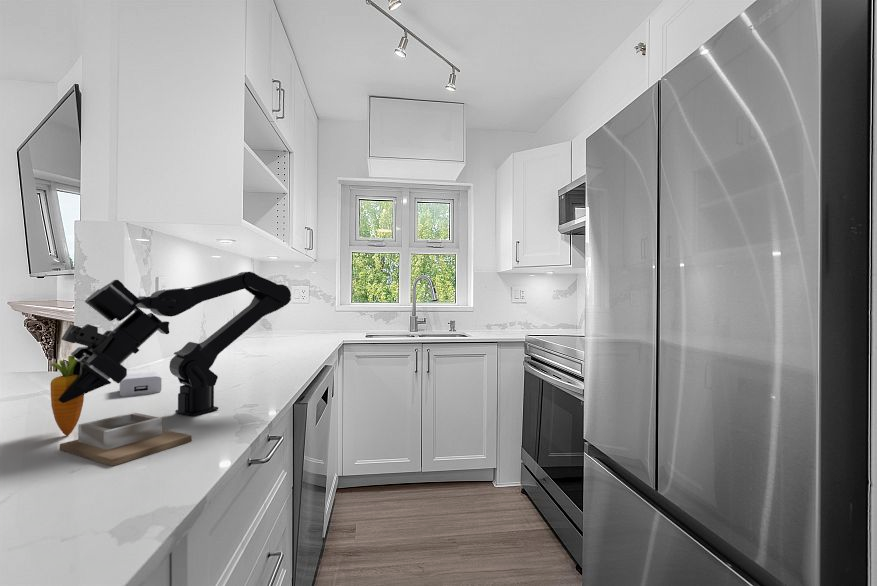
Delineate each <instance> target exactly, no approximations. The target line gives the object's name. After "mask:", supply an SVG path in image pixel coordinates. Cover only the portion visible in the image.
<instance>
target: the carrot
mask: <svg viewBox="0 0 877 586" xmlns="http://www.w3.org/2000/svg"><path fill="white" fill-rule="evenodd" d="M67 358H68V360H67V361H68V366H66V363H65V361H64V360H58V362H59V363H57V362H52V363H51V364H50V366H52V367H55V369H57V370H58V371H59V372H60V373H61V375H59V376H56V377H54V378H53V379H51V382H50V402H51V404H50V405H51V410H52V414H53V417H54V420H55V423H56V424H57V426H58V428H59V430H60V431H61V432H62V434H63V435H65V436H67V437H68V436H69V435H71V434H72V433H73V431H74V429H75V428H76V426H77V424H78V422H79V420H80V416H81V413H82V409H83V406H84V400H85V394H83V395H81V396H79V397H76V398H74V399H72V400H70V401H67V402H65V403H62V402H60V401H59V400H58V399H59V398H60V396H61V395H62V394H63V393H64V391H65V390H66V389H67V388H68V387H69V386H70V384H71V383H72V382H73V381H74V380H75V379H76V378H77V376H78V375H73V371H74V367H75V365H76V363H77V359H76V358H75V357H74V356H72V355H69V356H68V357H67Z"/></svg>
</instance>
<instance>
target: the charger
mask: <svg viewBox="0 0 877 586" xmlns="http://www.w3.org/2000/svg"><path fill="white" fill-rule="evenodd" d="M161 391H162V377H161V375H160V373H159V372H158V371H157V372H156V371H147V372H136V373H135V372H134V373H127V376H126V377H125V378H124V379H123V380H122V381H121V382H120V383H119V397H129V396H139V395H140V396H141V395H147V394H148V395H149V394H155V393H157V394H158V393H160V392H161Z"/></svg>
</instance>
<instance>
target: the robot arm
mask: <svg viewBox="0 0 877 586" xmlns="http://www.w3.org/2000/svg"><path fill="white" fill-rule="evenodd" d="M241 290H245V291H246V292H249V294H251V295H253V296H254V297H253V299H252V300H251V302H250V303H249V305H248V306H246V307H245V308H243V310H241V311H239V313H237V314H236V315H235V316H234V317H232V318H231V319H230V320H229V321H228V322H226V323H225V324H224V325H222V326H221V327H220V328H219V329H218V330H216V331H215V332H214V333H212V334H211V335H210V336H208V337H207V338H206V339H205V340H204V341H202V342H199V343H198V342H192V341H188V342H187V343H186V344H185V345H184V346H183V347H181V349H180V350H178V351H175V352H173V355H174V356H173V357H172V358H171V359H170V361H169V371H170V373H171V374H172V375H173V376H174V377H176V378H177V380H178V382H179V383H180V384H182V385H180V386H179V393H178V394H177V409H176V410H175V411H174V413H176V414H180V415H187V416H192V417H193V416H199V415H201V414H205V413H209V412H213V411H216V410H217V411H218V410H219V407H218V406H215V386H216V384H217V381H218V378H219V377H218V376H219V375H217V374H216V373H214V372H213V371H212V370H211V367H212V366H213V365H214V363H215V361H216V359H217V358H218V356H219V354H220V353H222V352H223V351H224V350H225V349H227V348H228V347H229V346H230V345H232V344H233V342H235V341H236V340H237V339H239V338H240V337H241V336H242V335H243V334H244V333H245V332H247V331H248V330H249V329H251V327H253V326H254V325H256V323H258V322H259V321H261V319H262V318H264V317H265V316H267V315H270V314H272V313H274V312H276V311H278V310H280V309H282V308H284V307H285V306H287V305H289V303H290V302H291V300H292V293H291V290H290V288H289V287H288V286H287V285H285V284H277V283H276V282H274V281H272V280H269V279H266V278H264V277H262V276H260V275H258V274H256V273H255V272H253V271H242V272H239V273H237V274H234V275H231V276H227V277H223V278H220V279H215V280H212V281H209V282H206V283H202V284H198V285H194V286H191V287H190V286H189V287H180V288H170V289H161V290H157V291H154V292H152V293H151V295H150V296H140V295H139V296H137V295H135V294H134V293H133V292H131V291H130V290H129V289H128V288H127V287H126V286H125V285H124V283H122V282H121V281H120V280H119V279H114V280H112V281H111V282H110V283H108V284H106V285H104V286H103V287H102V288H100V289H97V290H96V291H94V292H93V293H92V294H90V295H89V296H88V297H87V298H86V299H85V301H84V303H86V304H87V306H89V307H90V308H91V309H94V311H95V312H97V313H98V314H99V315H100V316H102V317H103V318H104V319H106V320H107V321H108V322H113V320H116V321H118V322H120V321H122V320H123V321H122V322H121V323H120V324H119V325H118V326H116V328H114V329H113V330H112V329H111V330H105V332H103V334H102V333H100V332H99V328H98V326H96V325H92V324H89V323H88V324H85V325H84V326H82V327H81V326H78V325H74V324H69V326H67V328H66V331H65V332H64V333H63V336H61V340H62V341H64V342H68V343H71V344H77V345H81V347H80V346H79V347H77V348H76V349H75V350H73V351H72V352H70V356H74V357H75V359H76V360H77V363H76V365H75V367H74V371H73V375H78V376H77V378H76V379H75V380H74V381H73V382H72V383H71V384H70V386H69V387H68V388H67V389H66V390H65V391H64V393H63V394H62V395H61V396H60V398H59V399H58V400H59V401H60V402H62V403H65V402H67V401H70V400H72V399H74V398H76V397H79V396H81V395H83V394H84V395H86V394H88V393H90V392H92V391H95V390H97V389H99V388H102V387H104V386H106V385H110V384H112V382H111V381H110V379H111V380H112V381H113V382H114V383H116V384H118V385H120V382H121V381H122V380H123V379H124V378H125V377H126V376H127V374H128V370H127V368H126V367H125V366H123V365H122V363H123V362H124V361H126V360H127V359H128V358H129V357H130V356H131V355H132V354H137V353H138V352H139V351H140V349H139V348H140V347H141V346H142V345H143V344H144V343H146V342H147V340H149V339H150V338H151V337H152V336H153V335H155V333H156V332H157V331H158V332H159V333H161V334H164V335H169V334H170V327H169V326H170V322H169V321H162V320H161V319H160V318H158V317H157V316H162V317H170V318H171V317H175V316H178V315H180V314H183V313H184V312H187V311H188V310H190V309H192V308H194V307H195V306H196V305H198V304H201V303H202V302H206V301H209V300H213V299H215V298H218V297H222V296H225V295H229V294H232V293H236V292H238V291H241ZM142 309H146V310H149V311H150V313H146V312H144V311H143V310H142ZM132 312H133V313H132ZM125 318H126V319H125Z"/></svg>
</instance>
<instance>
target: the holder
mask: <svg viewBox="0 0 877 586" xmlns="http://www.w3.org/2000/svg"><path fill="white" fill-rule="evenodd" d="M77 427H78V429H77V431H78V432H77V435H78V436H77V437H78V439H74V440H70V441H66V442H63V443H60V444H59V450H60V451H62V452H66V453H69V454H72V455H75V456H78V457H82V458H85V459H88V460H90V461H94V462H98V463H101V464H104V465H106V466H111V467H114V466H116V465H120V464H123V463H125V462H129V461H134V460H136V459H139V458H142V457H145V456H149V455H152V454H155V453H157V452H161V451H164V450H167V449H171V448H175V447H177V446H180V445H183V444H187V443H189V442H192V441H193V440H192V438H193V437H192V435H191V434H188V433H187V434H185V433H181V432H177V431H173V430H168V429H164V428H163V418H162V417H158V416H153V415H150V414H144V413H138V412H134V411H133V412H127V413H124V414H119V415H116V416H111V417H107V418H106V417H105V418H102V419H96V420H93V421H89V422H84V423H79V424H78V425H77Z"/></svg>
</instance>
